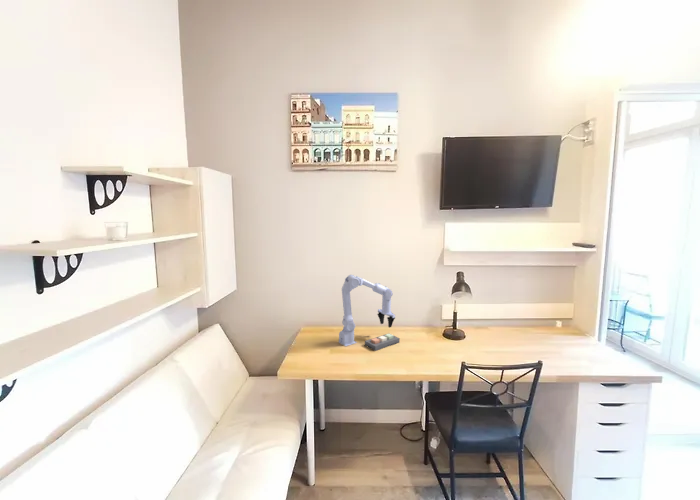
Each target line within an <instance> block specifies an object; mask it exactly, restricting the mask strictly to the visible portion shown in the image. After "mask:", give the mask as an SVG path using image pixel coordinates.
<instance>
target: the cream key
mask: <svg viewBox="0 0 700 500" xmlns="http://www.w3.org/2000/svg"><path fill="white" fill-rule="evenodd" d="M379 336H380V337H379ZM379 336H377V337H378V339H379V340H380V341H382V342H383V341H386V340H387V337H385V336H382V335H379Z"/></svg>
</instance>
